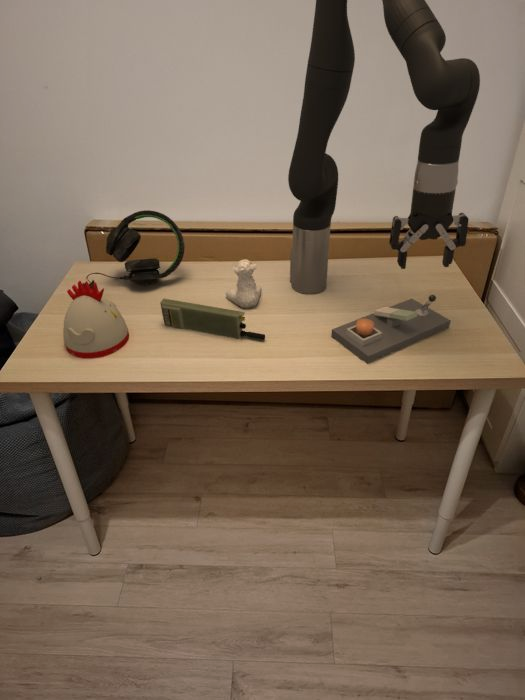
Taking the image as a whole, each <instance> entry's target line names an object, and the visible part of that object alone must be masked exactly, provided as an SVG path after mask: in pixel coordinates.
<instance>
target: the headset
mask: <svg viewBox="0 0 525 700" xmlns="http://www.w3.org/2000/svg"><path fill="white" fill-rule="evenodd" d="M144 218H153V219H157V220H159V221H162V222H163V223H166V224H167V225H168V226H169V228H170V229H171V231H172V232H173V233H174V236H175V237H176V239H177V250H176V251H177V252H176V256H175V258H174V260H173V261H172V263H171V264H170V265H169V267H168V268H167V269H166V270H165V271H163V272H162V273H160V270H159V269H160V268H161V266H160V265H161V262H160V260H159V259H158V258H157V257H156V258H151V257H150V258H141V259H133V260H128V258H129V257H130V256H131V255H132V254H133V252H134V251H135V250H136V248H137V246H138V244H139V243H140V241H141V239H142V236H141V233H140V232H138V231H137V230H135V229H134V228H131V229H130V227H129V225H130V224H131V223H133V222H135V221H137V220H139V219H140V220H141V219H144ZM185 247H186V246H185V240H184V236H183V234H182V231H181V230H180V228H179V226H178V225H177V223H175V222H174V220H173V219H172V218H170V217H169V216H168V215H166V214H164V213H163V212H162V213H161V212H159V211H155V210H149V209H148V210H147V209H146V210H145V209H144V210H140V211H139V210H138V211H135V212H133V213H131V214H129V215H128V216H126V217H124V218H123V219H122V220H121V221H120V222H119V224H118V225H116V227H114V228H112V229H111V230H110V232H109V233H108V235H107V237H106V245H105V252H106V254H107V255H109V256H113V258H115V260H117V262H118V263H123V262H125V261H126V260H127V261H126V262H125V263H124V267H125V272H129V273H128V274H127V275H124V276H120V277H116V276H110V275H107V274H105V273H101V272H91V273H90V274H89V273H88V274H87V275H86V277H85V279H86V281H87V282H88V284H89V286H90V288H91V290H93V284H94V283H95V280H94V279H92V280H91V281H90V280H89V279H88V278H89V277H90V276H91V275H102V276H104V277H107V278H111V279H116V280H124V281H130V282H131V283H132V284H133V283H134V284H136V285H139V286H144V285H151V284H153V283H155V282H156V281H158V280H159V279H164V278H167V277H168V276H170V275H171V274H172V273H173V272H175V271H176V269H178V268H179V266H180V264H181V263H182V261H183V258H184V254H185ZM82 284H83V286H84V288H85V282H82Z"/></svg>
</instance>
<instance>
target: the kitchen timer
mask: <svg viewBox="0 0 525 700" xmlns="http://www.w3.org/2000/svg"><path fill="white" fill-rule="evenodd" d="M94 282H95V281H94ZM84 283H85V288H84V286H83V282H82V280H78V281H77V286H76V284H73V285H72V286H71V289H72V290H71V289H70V288H69V289H67V291H66V292H67V294H68V296H69V297H70V298H71V300H72V301H71V302H70V304H69V306H68V308H67V310H66V312H65V315H64V320H63V327H62V328H63V329H62V332H63V333H62V334H63V336H62V337H63V340H64V345H65V349H66V351H67V352H68V353H69V355H71V356H74V357H76V358H80V359H98V358H103V357H106V356H110V355H112V354H114V353H116V352H118V351H119V350H121V349H122V348H123V347H125V346H126V344H127V343H128V341H129V338H130V332H129V328H128V326H127V323H126V321H125V318H124V317H123V316H122V314H121V312H120V310H119V309H118V307H117V305H116V303H115V302H114V301H112V300H109V299H108V298H106V297H105V296H103V295H104V290H105V288H104V287H103V288H101V290H100V291H99V288H98V284H97V282H95V283H94V284H93V290H91V288H90V286H89V284H90V283H89V281H88V280H85V282H84Z"/></svg>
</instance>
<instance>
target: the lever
mask: <svg viewBox="0 0 525 700" xmlns="http://www.w3.org/2000/svg"><path fill="white" fill-rule="evenodd" d="M436 300H437V296H436V295H435V294H431V295H429V296H428V299H427V300H426V302H425V303H424V304H423V305H424V306H423V307H422V308H421V311H422V312H424V311H425V310H426V309H427V308H429V306H430V305H431V304H432V303H434V302H435V301H436Z"/></svg>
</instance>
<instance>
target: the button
mask: <svg viewBox="0 0 525 700" xmlns="http://www.w3.org/2000/svg"><path fill="white" fill-rule="evenodd" d="M358 319H359V320H358V321H357V325H356V332H357V333H358V334H360V335H365V336H366V335H370V334H372V333H373V326H374V323H373V321H371V320H369V319H360V318H358Z"/></svg>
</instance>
